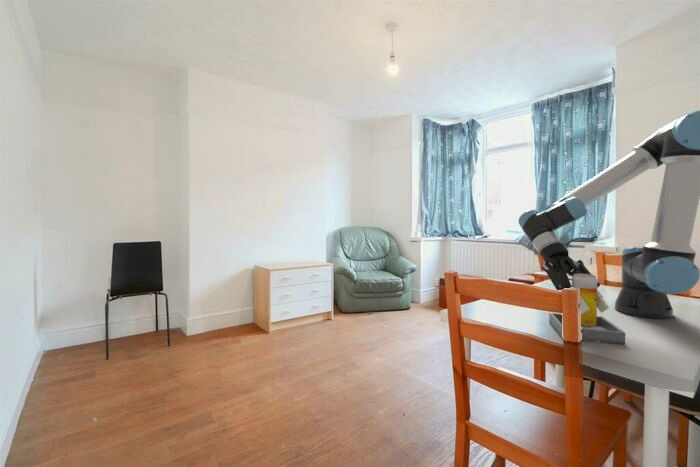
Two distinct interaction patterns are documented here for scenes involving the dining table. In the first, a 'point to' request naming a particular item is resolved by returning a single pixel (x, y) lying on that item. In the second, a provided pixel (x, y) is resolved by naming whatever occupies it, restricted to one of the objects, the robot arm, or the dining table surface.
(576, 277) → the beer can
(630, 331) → the dining table surface
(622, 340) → the tray
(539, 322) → the dining table surface
